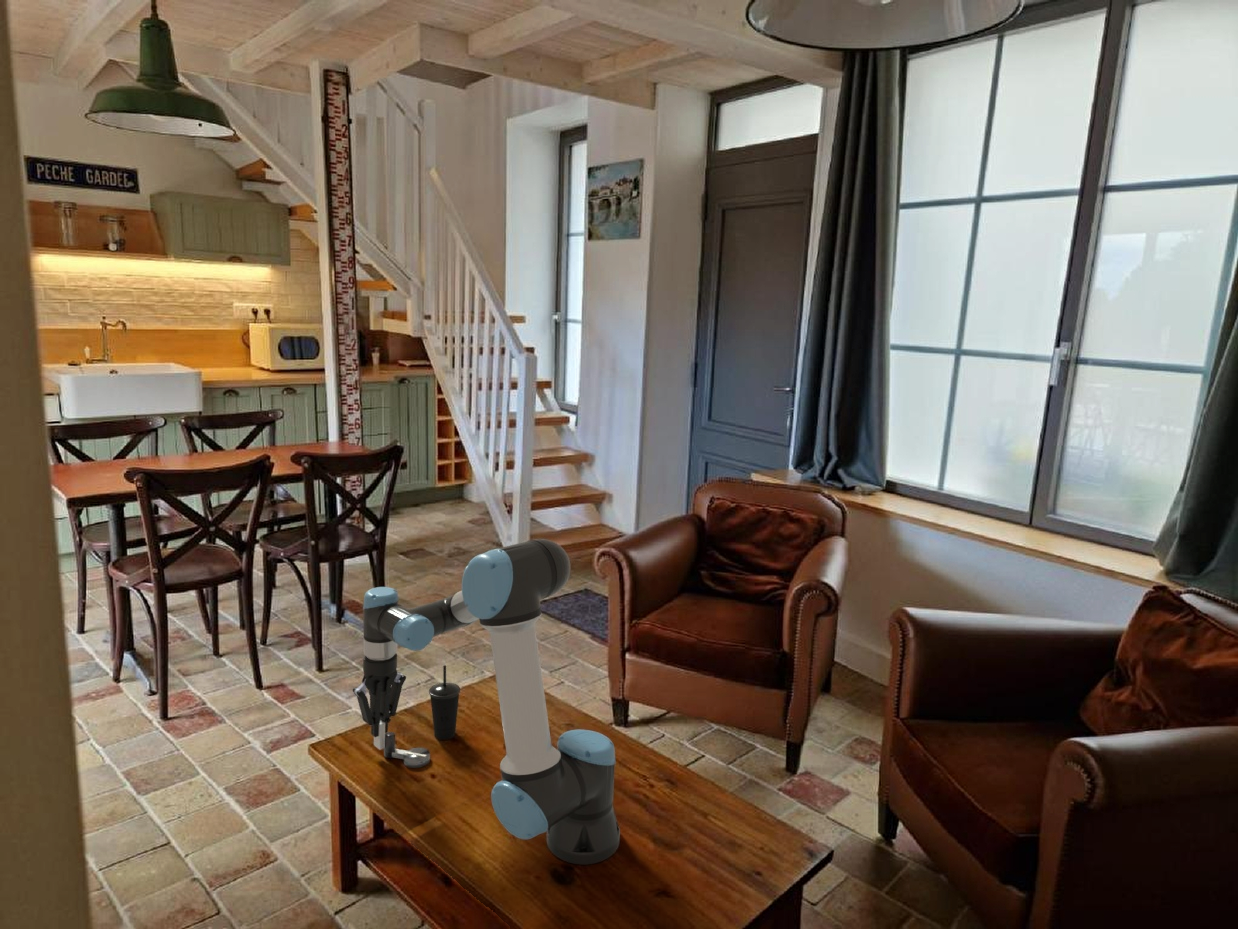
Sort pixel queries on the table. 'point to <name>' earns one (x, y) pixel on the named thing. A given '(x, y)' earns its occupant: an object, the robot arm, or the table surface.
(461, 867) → the table surface
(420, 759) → the crank
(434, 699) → the drinking cup
